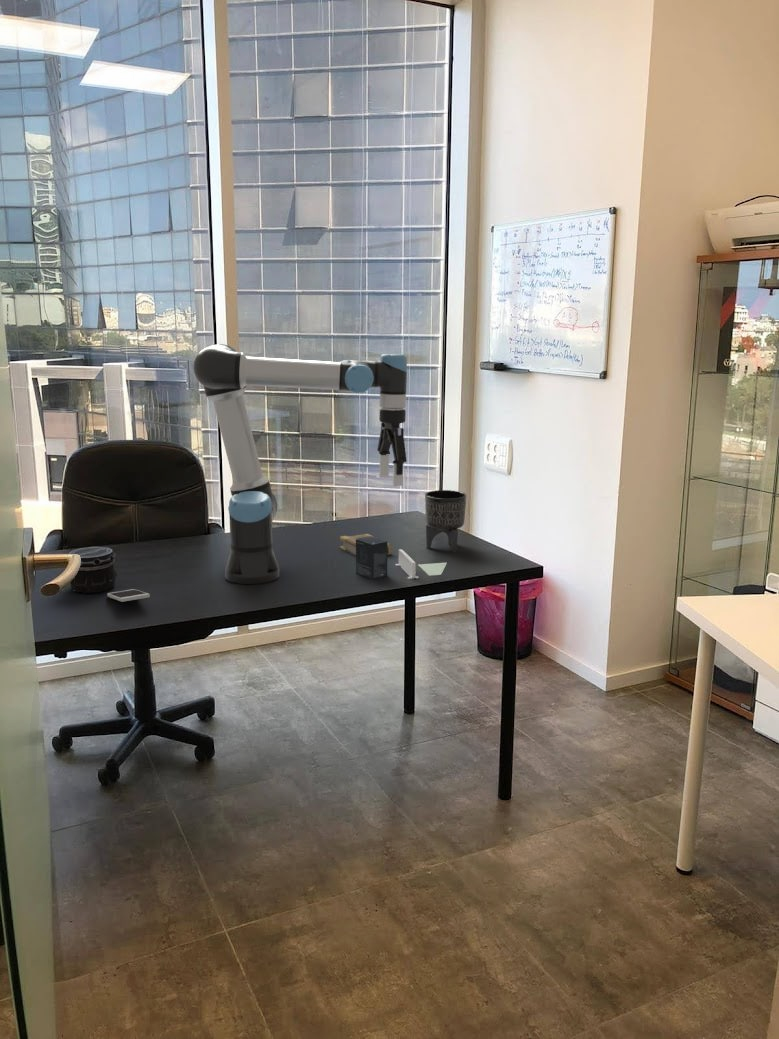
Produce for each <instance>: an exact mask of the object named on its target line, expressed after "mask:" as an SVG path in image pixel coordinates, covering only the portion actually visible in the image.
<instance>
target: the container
mask: <svg viewBox="0 0 779 1039" xmlns="http://www.w3.org/2000/svg"><path fill="white" fill-rule="evenodd" d="M68 554H78V555H80V556H81V566H80V568H79V571H78V573H77V575H76V576H75V578H74V579H73V580H72V581H71V583H69V584H70V587H71V590H72V589H73V590H75V591H78V592H77V593H79V592H83V593H82V594H90V593H99V592H104V591H108V590H110V589H112V588H114V587H115V585H116V584H115V583H116V578H117V576H118V574H117V571H116V568H115V562H116V561H115V558H116V553H115V552H114V551H113V549H112V548H110V547H104V546H89V547H88V546H87V547H82V548H81V547H80V548H77V549H73V550H71V551H69V553H68ZM73 590H72V591H73ZM75 591H74V592H75Z"/></svg>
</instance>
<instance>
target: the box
mask: <svg viewBox="0 0 779 1039" xmlns="http://www.w3.org/2000/svg"><path fill="white" fill-rule="evenodd" d="M372 536H373V535H372ZM372 536H368V537H363V538H357V539H356V556H355V574H356V575H359V576H361V577H365V578H368V579H370V580H376V579H380V578H384V577H388V555H387V543H388V540H385V539H382V538H378V537H376V536H373V537H372ZM375 537H376V538H375Z"/></svg>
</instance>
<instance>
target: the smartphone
mask: <svg viewBox="0 0 779 1039" xmlns="http://www.w3.org/2000/svg"><path fill="white" fill-rule="evenodd" d="M106 595H107V597H109V598H110V599H113V600H116V601H118V602H122V603H123V602H127V601H128V602H130V601H134V600H135V601H136V600H140V599H146V598H150V596H151V595H150V593H148V592H144V591H141V590H139V589H134V588H132V589H127V590H121V591H119V590H118V591H114V592H113V591H112V592H108V593H107V594H106Z"/></svg>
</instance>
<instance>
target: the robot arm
mask: <svg viewBox="0 0 779 1039" xmlns="http://www.w3.org/2000/svg"><path fill="white" fill-rule="evenodd" d="M407 360H408V359H407V357H406V355H404V354H403V353H402V354H401V353H382V354H381V355H380V358H379V360H359V359H357V360H356V359H345V360H340V361H325V360H324V361H323V360H307V359H305V360H304V359H293V358H292V359H289V358H276V357H275V358H274V357H259V356H258V357H257V356H248V355H247V354H245V353H244V352H240V351H237V350H236V349H234V348H233V347H231V346H230V345H227V344H224V343H223V344H222V343H219V344H218V343H217V344H216V343H215V344H213V345H210V346H207V347H205V348H203V349H202V350H201V351H199V352H198V353H197V355H196V356H195V358H194V361H193V373H194V376H195V378H196V381H198V382H199V383H200V384H201V385H202V386H203V389H204V392H205V393H204V394H205V397H206V398H207V399H208V400H210V401H212V402H213V406H214V410H215V414H216V418H217V422H218V426H219V430H220V434H221V437H222V438H221V439H222V441H223V445H224V449H225V453H226V457H227V462H228V466H229V469H230V473H231V476H232V480H233V483H232V485H231V487H230V489H229V490H230V494H231V497H230V499H229V504H228V513H229V514H228V515H229V516H228V517H229V538H230V540H229V541H230V543H229V544H230V551H229V552H230V553H229V556H228V559H227V563H226V566H225V568H224V569H225V570H224V572H225V575H224V576H225V580H227V581H228V582H230V583H234V584H238V585H240V584H241V585H257V584H265V583H269V582H272V581H276V580H278V578H279V577H280V566H279V563H278V561H277V559H276V556H275V552H274V550H273V549H274V548H273V522H274V519H275V517H276V515H277V511H278V502H277V501H278V500H277V499H276V496H275V494H274V493H273V489H272V487H271V482H270V479H269V478H268V477H266V476H265V475H263V472H262V468H261V463H260V459H259V454H258V451H257V446H256V444H255V443H256V442H255V439H254V436H253V431H252V428H251V423H250V419H249V414H248V411H247V406H246V403H245V399H244V393H245V391H246V390H247V386H253V387H254V386H257V387H273V388H275V387H276V388H291V389H293V388H294V389H295V388H296V389H310V390H311V389H315V390H330V391H331V390H334V391H343V392H344V391H345V392H346V391H347V392H353V393H356V394H357V393H359V394H360V393H361V394H362V393H365V392H366V391H368V390H369V389H370V388H379V407H380V409H379V416H378V417H379V422H380V423H381V425H380V433H379V437H378V444H377V452H378V454H379V471H378V473H379V476H378V477H382V478H383V477H384V478H385V477H386V478H387V477H389V475H390V455H391V450H390V448H391V449H392V454H393V459H394V460H393V461H392V464H393V469H392V471H393V472H392V475H393V476H392V479H393V480H392V486H393V487H398V486H399V487H401V486H403V484H404V463H407V461H408V460H407V453H406V452H407V451H406V445H405V437H404V436H405V435H404V428H403V427H400V424H404V423H405V422H406V417H407V416H406V415H407V414H406V413H407V412H406V410H405V408H406V406H407V404H406V403H407V402H406V401H407V400H408V397H407V382H408V381H407V379H408V366H407V364H408V362H407Z"/></svg>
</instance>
